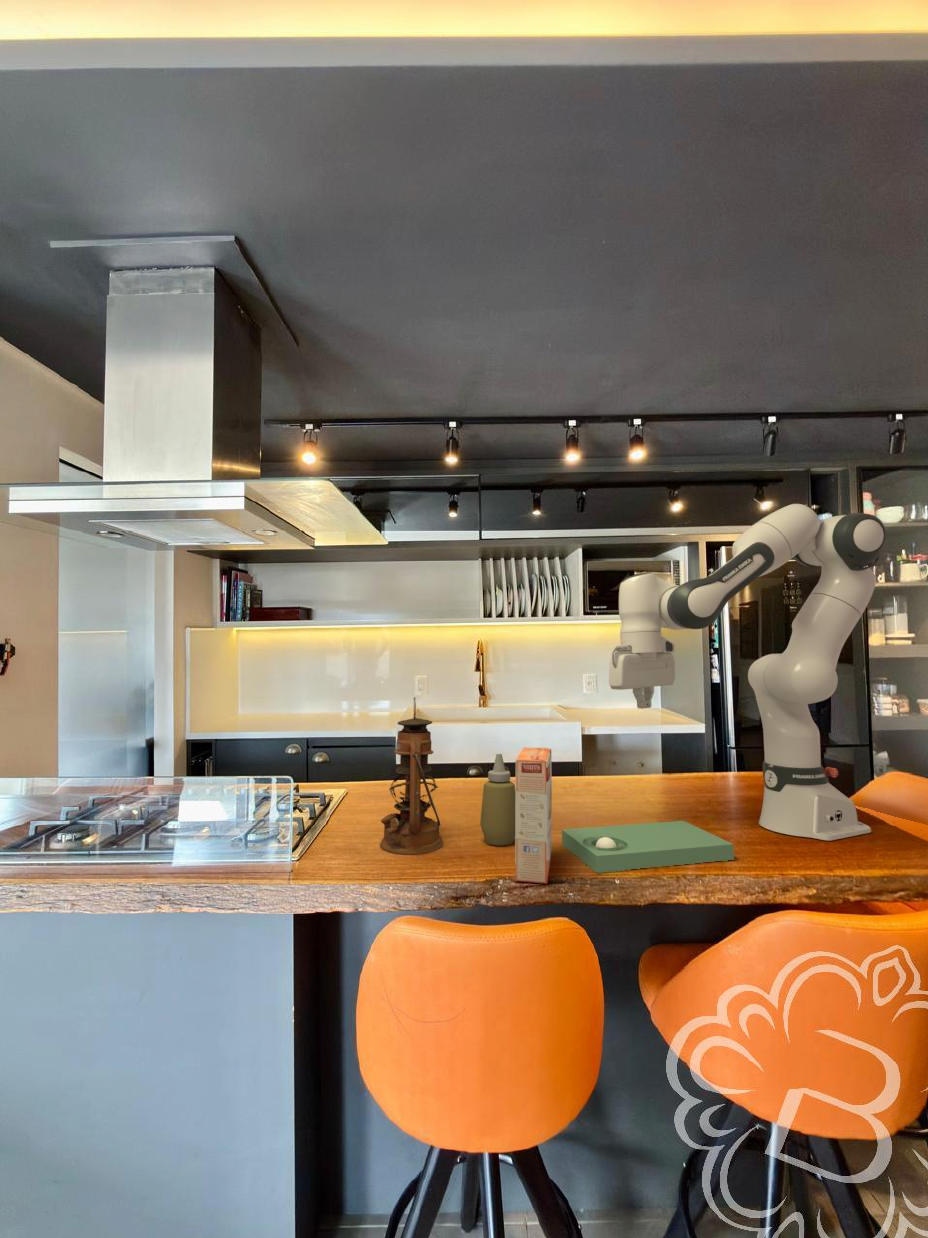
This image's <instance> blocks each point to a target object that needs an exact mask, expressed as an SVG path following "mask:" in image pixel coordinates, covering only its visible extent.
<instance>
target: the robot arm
mask: <svg viewBox="0 0 928 1238" xmlns="http://www.w3.org/2000/svg"><path fill="white" fill-rule="evenodd" d="M886 539H887V533H886V528H885V524H884V523H883V522H882V520H881V519H880V518H879V517H877V516H875V515H873V514H870V513H866V512H865V513H863V512H853V513H852V512H851V513H848V514H841V515H834V516H830V517H826V518H824V519H820V518H819V517H818V514H817V513H816V512H815V510H813V509H812V508H811V507H809V506H807V505H805V504H800V503H792V504H789V505H786V506H784V507H782V508H779V509H777V510H775V511H774V512H771V513H770V514H768V515H766V516H764V517H763V518H761V519H760V520H758V521H757V522H755V523H754V524H752V525H751V526H750V527H749V528H747V529H746V530H745V531H744V532H743V533H741V534H740V536H738V538H736V540H735V541H734V542H733V544H732V547H731V554H732V558H731V559H730V560H728V561H727V562H726V563H724V564H723V565H721V567H719V568H718V569H716V570H715V571H714V572H712V573H711V574H709V575H708V576H706V577H703V578H698V579H692V580H689V581H686V582H684V583H682V584H680V585H678V584H673V583H671V582H668V581H666V580H665V579H663V578H661V577H659V576H657V574H655V572H652V571H650V572H649V571H647V572H641V573H636V574H633V575H630V576H627V577H626V578H624V579H623V580H622V581H621V582H620V585H619V588H618V589H619V591H618V616H619V618H620V621H621V623H620V624H621V626H620V631H619V638H620V639H619V641H620V645H618V646H617V645H616V647H614V649H613V650H612V652H611V658H610V659H609V669H608V670H609V671H608V684H609V685H608V686H610V689H611V690H618V691H619V690H621V691H622V690H632V694H633V696H634V698H635V700H636V707H637V709H642V710H644V709H648V708H649V709H650V708H652V699H653V696H654V693H655V687H663V686H673V685H674V682H675V679H676V666H675V656H674V654H673V653H674V652H675V651H676V650H675V648H676V647H675V644H674V643H673V642H672V641H670V640H668V639H666V638H665V636H662V628H664V629H669V630H674V631H677V630H678V631H679V630H680V631H681V630H689V629H690V630H702V629H705V628H707V627H710V626H711V625H712V624H714V623H715V622H716V620H718V618H719V617H720V615H721V613H722V611H723V610H724V608H725V606H726V605H727V604H728V602H729V601H730V600H732V598H733V597H735V596H736V595H737V594H739V592H741V591H743V590H744V589H745V588H746V587H748V585H750V584H751V583H753V582H754V581H755V580H757V578H759V577H763V576H765V575H768V574H770V573H772V572H773V571H775V570H777V569H779V568H781V566H784V565H785V564H786V563H787V562H789V561H790V560H791V559H793V560H794V561H795V562H796V563H798V564H801V565H802V566H805V567H810V568H818V567H821V572H820V573H821V575H820V578H819V579H818V582H817V584H816V585H815V586H814V588H813V590H812V591H811V592H810V594H809V595H808V597H807V599H806V600H805V602H804V603H803V605H802V606H801V608H800V610H798V613H797V614H796V616H795V617H794V619H793V621H792V624H791V628H792V629H791V630H792V631H791V632H792V633H791V635H790V639H789V641H788V644H787V647H786V649H785V650H784V651H783V652H782V653H770V654H766V655H764V656H761V657H760V658H758V659H756V660H755V661H754V662H752V664H751V665H749V666H750V667H749V669H748V670H747V671H748V672H747V679H748V683H749V685H750V687H751V688H752V690H753V692H754V695H755V700H756V703H757V707H758V710H759V714H760V719H761V723H762V730H763V731H762V733H763V751H764V760H763V762H762V777H763V782H764V790H763V798H762V799H763V801H762V808H761V811H760V812H761V813H760V817H759V820H758V825H759V826H761V827H763V828H764V829H767V830H769V831H772V832H776V833H779V834H782V835H783V834H785V835H789V836H795V837H803V838H810V839H811V838H812V839H816V840H817V839H818V840H822V841H827V842H828V841H829V842H830V841H836V840H840V839H845V838H849V837H851V838H852V837H855V836H859V835H864V834H865V835H866V834H869V833H872V828H871V827H870V826H869V825H867V824H866V823H863V822H861V821H858V813H857V808H856V805H855V804H854V802H853V801H852V800H851V799H850V798H849V797H847V795H845V794H844V793H842V792H841V791H840V790H838V789H837V788H836V787H835V786H833V785H832V784H831V783H830V780H829V778H828V777H832V778H837V777H838V776H839V770H838V768H835V767H830V766H826V767H823V765H822V759H821V735H820V730H819V727H818V725H817V724H816V723H815V722H814V720H813V718H812V715H811V712H810V709H809V705H810V704H811V705H812V704H816V703H820V702H823V701H826V700H827V699H829V698H830V697H832V695H834V693H835V691H836V689H837V687H838V683H839V682H838V681H839V679H838V674H837V670H836V669H837V665H838V662H839V661H838V660H839V658H840V654H841V652H842V649H843V647H844V645H845V643H846V641H847V639H848V638H849V636H850V635H851V633H852V631H853V630H854V628H855V627H856V626H857V624H858V622H859V620H860V619H861V616H862V615H863V614H864V612H865V610H866V608H867V607H868V605H869V602H870V600H871V599H872V596H873V593H874V590H875V588H876V584H877V577H876V574H875V573H874V572H873V570H872V569H871V568H872V567H873V566H874V565H876V564H877V563H878V561H880V560H879V559H880V554H881V553H882V552H883V550H884V548H885V545H886Z"/></svg>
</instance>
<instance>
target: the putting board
mask: <svg viewBox="0 0 928 1238" xmlns="http://www.w3.org/2000/svg"><path fill="white" fill-rule="evenodd" d="M603 837H608V838H610V839H612V840H613V841H614V842H615V844H616V846H617V847H615V848H600V847H596V843H597V841H598V840H599V839H600V838H603ZM561 845H562V846H563V847H564V848H566V849H567V850H568V851H569V852H571V853H572V854H573V855H574V856H575V855H576V856H575V857H577V856H578V857H579V858H580V859H581V860H580V859H579V858H578V857H577V858H578V859H579V860H580V861H581V862H582V863H584V864H585V865H586V864H587V865H586V866H588V867H589V868H590V869H591V870H592V871H594V872H595V873H596V874H604V873H605V872H606V873H614V872H615V873H616V871H617V872H624V871H625V870H627V871H632V870H631V869H638V870H641V869H640V868H647V867H658V866H670V867H672V866H671V865H681V866H685V865H684V864H691V865H696V864H695V863H702V864H704V863H703V862H713V863H715V862H714V861H723V862H729V861H728V860H734V861H735V846H734V845H735V844H733V842H729V841H727V840H726V839H723V838H721V837H719V836H717V835H715V834H712V833H711V832H708V831H706V830H704V829H702V828H700V827H697V826H696V825H693V824H692V823H689V822H687V821H685V820H675V821H673V820H672V821H660V822H645V823H634V824H633V823H632V824H621V825H620V824H618V825H605V826H593V827H592V826H589V827H579V828H578V827H577V828H565V829H563V828H562V829H561ZM606 873H605V874H606Z"/></svg>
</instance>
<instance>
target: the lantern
mask: <svg viewBox="0 0 928 1238" xmlns="http://www.w3.org/2000/svg"><path fill="white" fill-rule="evenodd" d="M413 701H414V708H413V718H409V719H404V720H400V721H397V724H396V725H399V726H402V728H401V730H398V731H397V739H396V745H395V746H396V748H395V750H393V753H394V754H396V755H398V756H400V757H399V758H400V759H399V761H400V762H399V763H400V764H399V765H397V767H396V768H395V772H396V773H398V774H399V775H398V776H396V777H395V778H394V780H392V782H391V784H390V787H389V789H388V791H389V792H390V794H391V796H392V798H393V800H394V801H395V804H394V805H393V808H394V809H395V810H397V811H399V813H398V812H394V813H390V814H387V815H386V816H384V817H383V818H382V819H380V822H381V824H383V825H384V827H383V838H382V840H381V841H380V843H379V847H380V849H381V850H383V851H385V852H387V853H390V854H396V855H414V856H415V855H421V854H428V853H432V852H434V851H437V850H439V849H440V848H442V847H443V845H444V841H443V839H442V837H441V836H440V826H441V821H440V818H439V815H438V812H437V809H436V806H435V803H434V801H433V797H432V794H431V793H433V792H434V791H436V789H438V786H437V784H436V780H435V778H434V777H433V776H431V775H430V774H428V773H430V772H431V771H432V767H431V765H429V755H432V754H434V750H432V739H431V735H432V734H431V731H429V730H428V728H427V726H429V725H431V724H433V721H432V720H429V719H424V718H418V717H417V715H416V713H417V711H416V710H417V703H416V697H413ZM425 777H426V778H428V779H430V780H432V782H428V781H427V780H426V778H425ZM404 778H405V781H404V782H402V783H397V782H398V781H399V779H400V781H401V780H402V779H404ZM421 780H422V781H421ZM395 783H397V784H395ZM394 784H395V785H394ZM421 784H422V785H424V787H425V791H426V794H422V795H421V788H422V787H421V786H422V785H421ZM428 785H429V786H431V787H433V788H431V789H430V788H429V786H428ZM402 786H404V789H405V790H404V792H402V791H399V794H400V795H402V796H397V795H396V792H395V788H398V787H402ZM427 796H428V799H429V800H428V801H424V799H425V797H426V798H427ZM395 798H399V799H400V800H402V801H398V800H397V799H395ZM430 808H432V809H433V812H434V815H435V817H436V820H437V821H436V820H434V819H432V818H430V817H427V816H426V815H425V814H426V813H427V812H428V809H430Z"/></svg>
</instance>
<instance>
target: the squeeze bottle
mask: <svg viewBox="0 0 928 1238" xmlns="http://www.w3.org/2000/svg"><path fill="white" fill-rule="evenodd" d="M487 780H488V781H485V782H484V784H483V787H482V788H483V790H482V791H483V792H482V801H481V809H480V810H481V812H480V820H479V821H480V825H479V826H480V828H481V832H482V834H483V837H484V838H483V839H484V841H485V842H486V843H487V844H489V845H492V846H509V845H511V844H513V843H515V783H513V782H512V781H511V771H509V770H506V767H505V763H504V758H503V754H502V753H497V754H495V759H494V765H493V769H491V770H489V771H488V772H487Z"/></svg>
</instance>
